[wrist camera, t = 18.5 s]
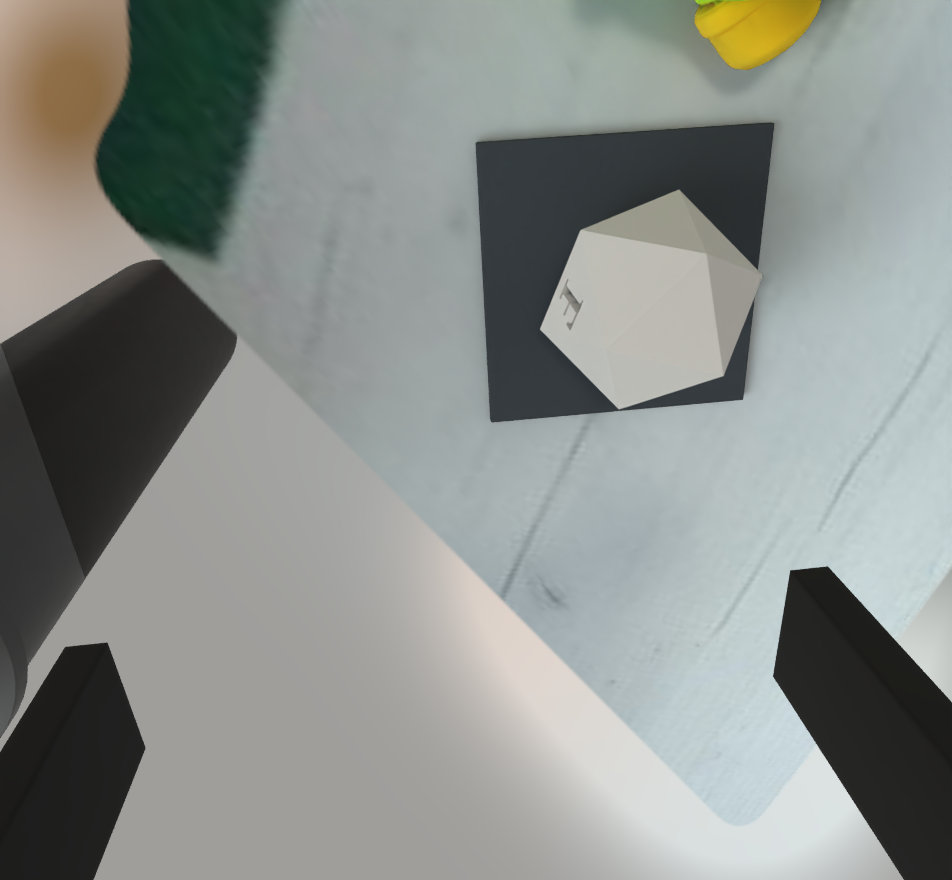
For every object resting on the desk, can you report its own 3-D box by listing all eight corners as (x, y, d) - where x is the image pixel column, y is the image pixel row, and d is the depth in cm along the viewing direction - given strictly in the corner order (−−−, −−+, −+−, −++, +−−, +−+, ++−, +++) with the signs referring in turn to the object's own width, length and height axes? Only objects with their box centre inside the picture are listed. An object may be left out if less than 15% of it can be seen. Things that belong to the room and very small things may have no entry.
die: (639, 143, 34) (546, 204, 27) (813, 232, 32) (763, 321, 25) (575, 291, 40) (486, 372, 33) (719, 373, 38) (657, 477, 31)
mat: (490, 419, 39) (491, 422, 39) (475, 142, 33) (476, 142, 33) (739, 396, 40) (743, 400, 39) (769, 122, 34) (774, 122, 33)
